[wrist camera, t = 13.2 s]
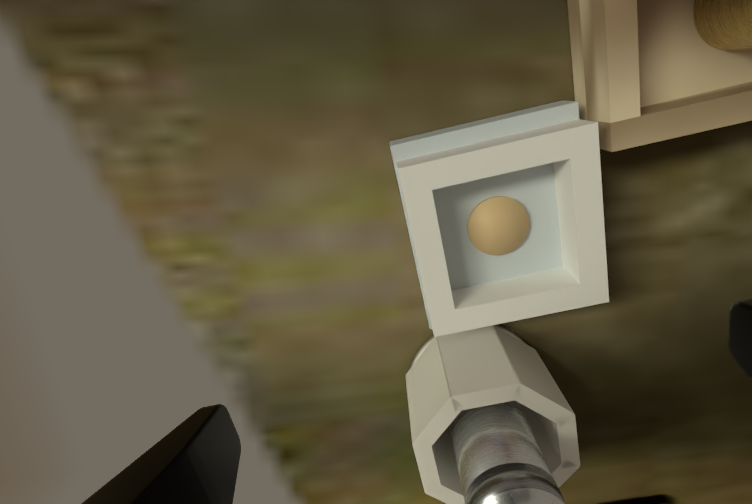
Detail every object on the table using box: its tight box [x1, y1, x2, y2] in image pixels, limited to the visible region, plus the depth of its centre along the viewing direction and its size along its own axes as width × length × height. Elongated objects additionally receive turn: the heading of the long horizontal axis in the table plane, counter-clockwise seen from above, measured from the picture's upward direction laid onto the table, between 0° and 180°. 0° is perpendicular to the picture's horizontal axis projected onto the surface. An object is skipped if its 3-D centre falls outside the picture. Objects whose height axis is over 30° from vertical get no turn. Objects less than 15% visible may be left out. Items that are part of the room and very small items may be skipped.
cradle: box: [389, 101, 609, 337], centre depth 18 cm, size 8×7×3 cm
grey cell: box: [449, 401, 566, 504], centre depth 18 cm, size 3×3×8 cm
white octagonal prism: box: [406, 325, 580, 504], centre depth 20 cm, size 6×6×5 cm
